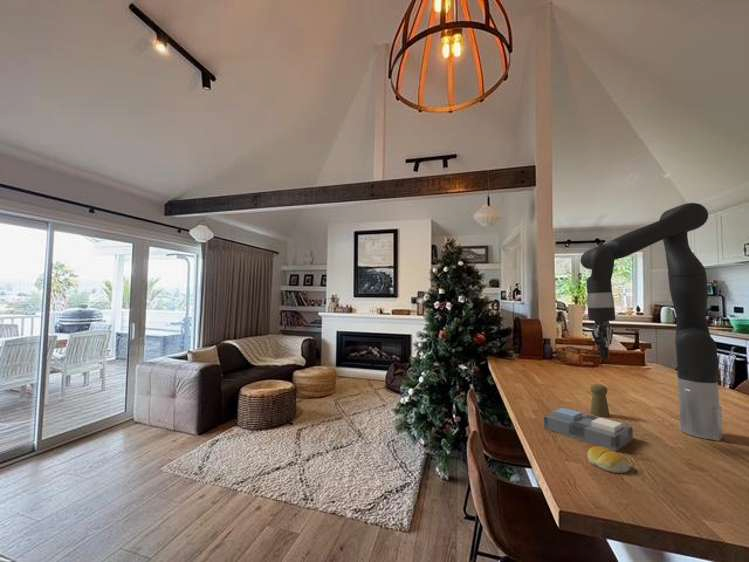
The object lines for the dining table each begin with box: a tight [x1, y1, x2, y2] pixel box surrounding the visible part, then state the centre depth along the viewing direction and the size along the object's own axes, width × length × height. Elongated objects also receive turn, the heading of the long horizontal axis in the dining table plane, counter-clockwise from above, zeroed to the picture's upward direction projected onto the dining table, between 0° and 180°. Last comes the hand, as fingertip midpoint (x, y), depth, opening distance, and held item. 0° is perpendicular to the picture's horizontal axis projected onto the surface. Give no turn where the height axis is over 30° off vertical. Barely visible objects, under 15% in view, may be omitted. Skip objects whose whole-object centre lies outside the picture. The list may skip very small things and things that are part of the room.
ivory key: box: [591, 417, 623, 433], centre depth 99 cm, size 6×6×2 cm
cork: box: [590, 383, 611, 418], centre depth 121 cm, size 6×6×11 cm
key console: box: [543, 412, 634, 452], centre depth 103 cm, size 20×14×4 cm
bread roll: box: [586, 446, 631, 474], centre depth 84 cm, size 8×9×4 cm
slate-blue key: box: [553, 407, 582, 421], centre depth 108 cm, size 6×6×2 cm
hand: (604, 358), depth 107 cm, fingers closed
